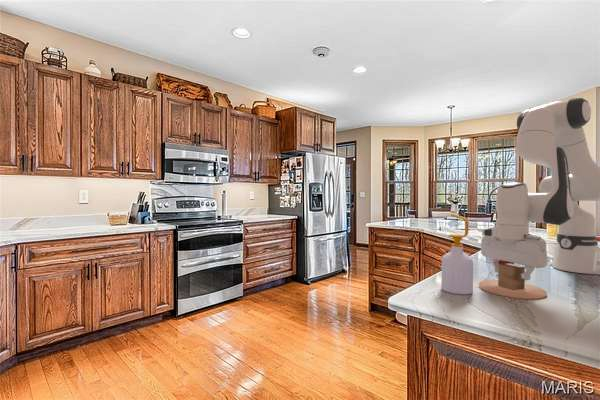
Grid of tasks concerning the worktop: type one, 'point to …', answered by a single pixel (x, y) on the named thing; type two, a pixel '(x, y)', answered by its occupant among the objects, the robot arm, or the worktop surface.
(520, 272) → the block
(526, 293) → the plate
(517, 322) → the worktop surface
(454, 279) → the soap bottle
